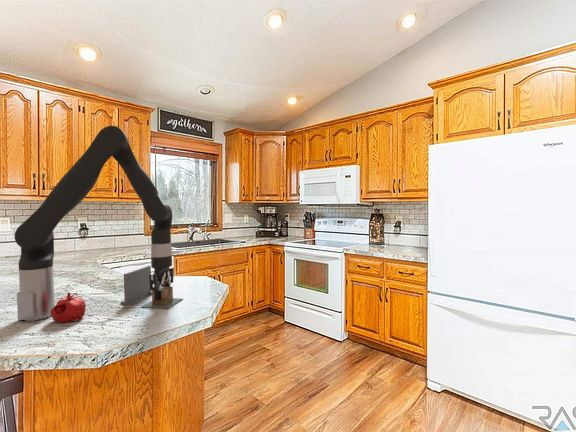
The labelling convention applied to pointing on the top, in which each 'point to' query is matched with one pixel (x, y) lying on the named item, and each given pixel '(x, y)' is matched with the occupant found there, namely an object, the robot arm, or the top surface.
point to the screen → (136, 285)
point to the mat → (167, 306)
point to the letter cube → (163, 296)
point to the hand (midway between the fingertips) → (162, 297)
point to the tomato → (68, 309)
